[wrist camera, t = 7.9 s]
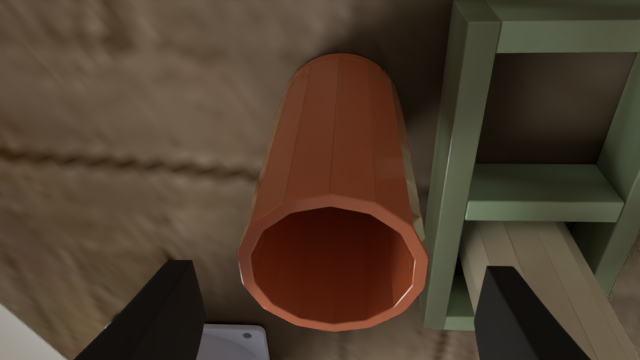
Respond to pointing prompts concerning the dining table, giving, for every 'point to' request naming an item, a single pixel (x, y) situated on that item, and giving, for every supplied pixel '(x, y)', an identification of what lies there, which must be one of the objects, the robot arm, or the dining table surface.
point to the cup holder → (528, 179)
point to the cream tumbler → (547, 279)
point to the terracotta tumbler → (336, 203)
